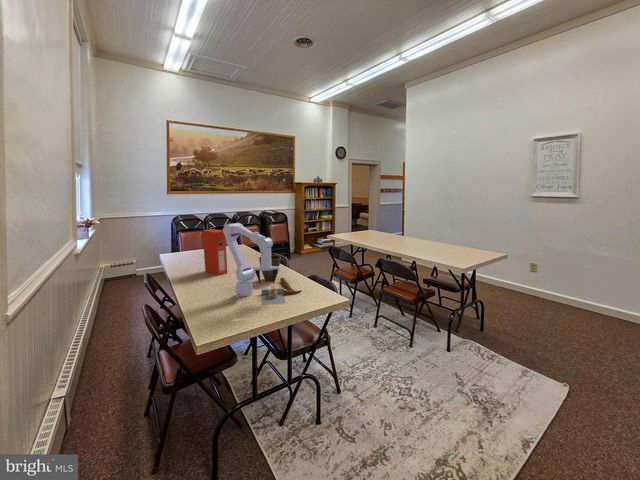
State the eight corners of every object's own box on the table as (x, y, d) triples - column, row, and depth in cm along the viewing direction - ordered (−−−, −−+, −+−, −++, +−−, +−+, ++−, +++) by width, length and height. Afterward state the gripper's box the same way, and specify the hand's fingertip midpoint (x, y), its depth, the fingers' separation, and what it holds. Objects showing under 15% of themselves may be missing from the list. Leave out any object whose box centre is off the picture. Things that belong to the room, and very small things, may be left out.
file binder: (217, 275, 224) (215, 232, 219) (204, 271, 235) (202, 230, 229) (227, 273, 230) (225, 231, 225) (214, 269, 241) (212, 229, 235)
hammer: (275, 281, 210) (283, 295, 181) (276, 277, 209) (284, 290, 181) (292, 282, 213) (302, 296, 185) (292, 278, 213) (303, 291, 185)
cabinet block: (268, 298, 177) (268, 289, 176) (268, 294, 183) (268, 286, 182) (277, 297, 178) (277, 289, 177) (277, 293, 184) (276, 285, 183)
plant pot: (283, 276, 222) (282, 255, 219) (278, 283, 208) (277, 260, 205) (263, 276, 224) (262, 254, 221) (256, 282, 209) (256, 259, 206)
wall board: (261, 306, 167) (261, 299, 166) (261, 295, 184) (261, 288, 184) (285, 305, 169) (285, 298, 169) (283, 293, 187) (283, 287, 186)
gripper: (252, 261, 167) (253, 285, 169) (279, 260, 170) (279, 284, 172) (253, 258, 174) (253, 281, 176) (278, 257, 177) (279, 280, 179)
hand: (266, 282), depth 175 cm, fingers open, 7 cm apart
